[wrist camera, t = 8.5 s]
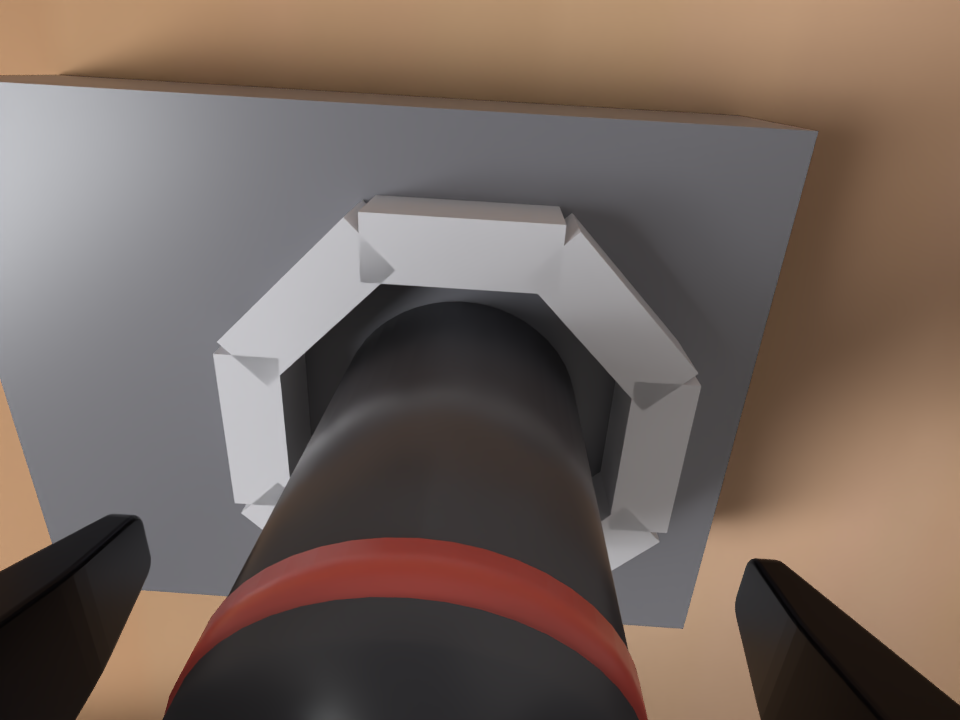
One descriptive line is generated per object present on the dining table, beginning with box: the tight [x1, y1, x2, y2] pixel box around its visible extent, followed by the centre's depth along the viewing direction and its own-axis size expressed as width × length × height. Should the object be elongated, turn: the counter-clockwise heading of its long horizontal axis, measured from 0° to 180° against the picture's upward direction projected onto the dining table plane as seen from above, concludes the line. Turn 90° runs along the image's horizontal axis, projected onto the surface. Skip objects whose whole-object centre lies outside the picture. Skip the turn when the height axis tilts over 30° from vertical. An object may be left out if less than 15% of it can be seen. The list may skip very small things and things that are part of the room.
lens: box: [163, 302, 648, 720], centre depth 10 cm, size 5×5×8 cm
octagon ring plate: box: [0, 75, 818, 629], centre depth 14 cm, size 16×12×6 cm
